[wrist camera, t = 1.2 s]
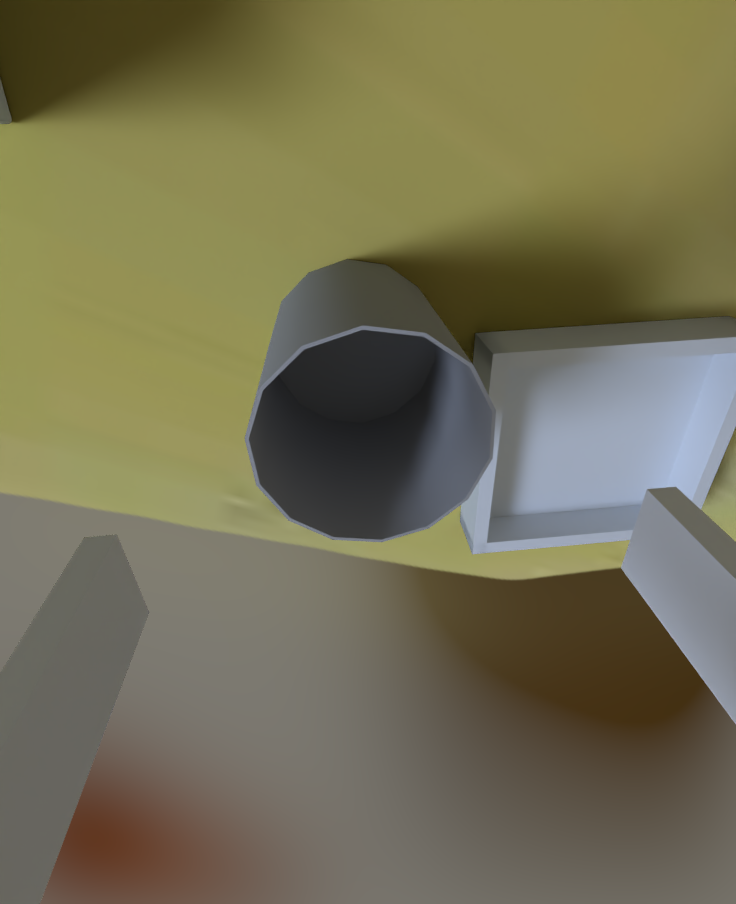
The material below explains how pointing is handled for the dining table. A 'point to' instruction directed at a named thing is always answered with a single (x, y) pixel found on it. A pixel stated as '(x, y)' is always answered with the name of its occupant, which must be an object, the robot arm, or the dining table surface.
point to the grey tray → (598, 427)
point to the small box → (4, 108)
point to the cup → (366, 408)
